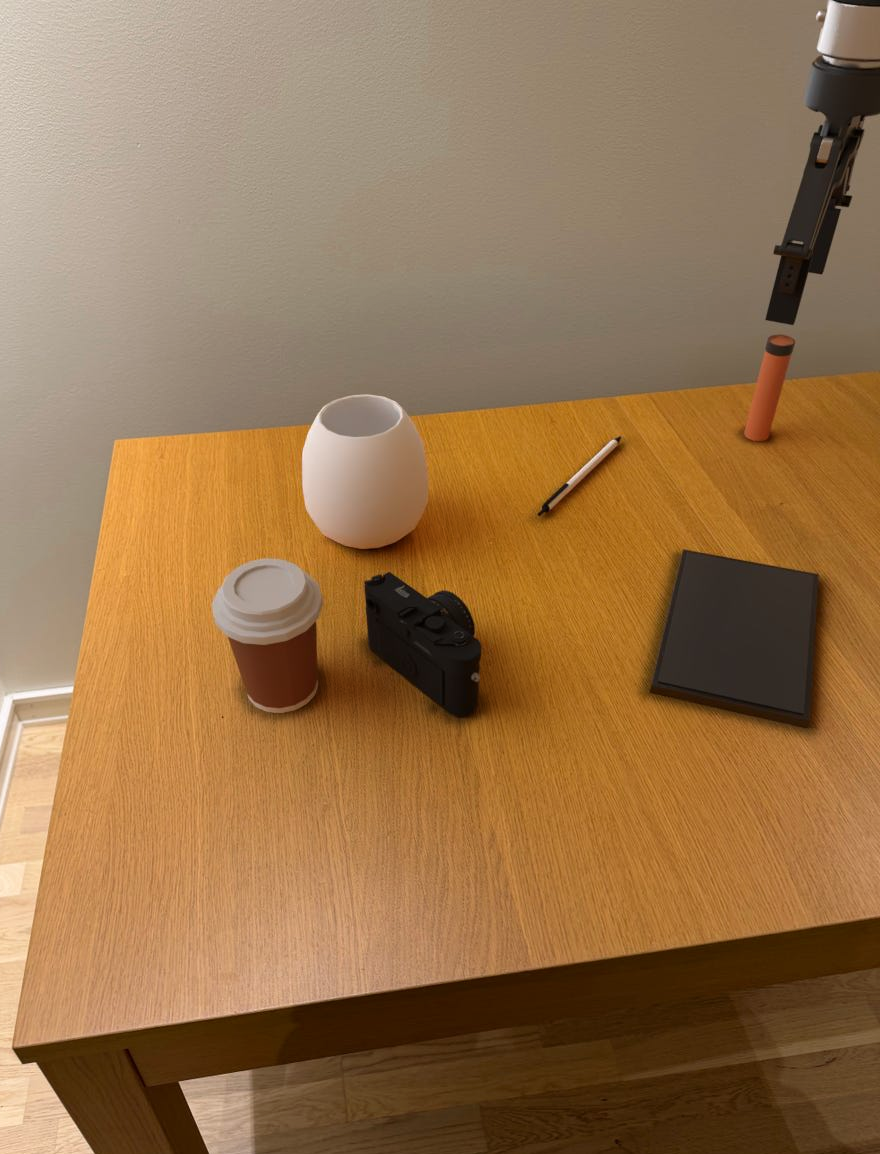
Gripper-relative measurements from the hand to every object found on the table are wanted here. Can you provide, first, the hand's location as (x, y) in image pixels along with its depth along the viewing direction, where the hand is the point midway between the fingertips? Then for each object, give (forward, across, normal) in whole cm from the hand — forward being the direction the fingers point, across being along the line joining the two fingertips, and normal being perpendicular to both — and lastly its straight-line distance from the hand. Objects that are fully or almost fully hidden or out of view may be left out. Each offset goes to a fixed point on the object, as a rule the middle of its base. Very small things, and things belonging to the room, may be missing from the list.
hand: (795, 295), depth 95 cm
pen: (+18, +15, -16) cm, 28 cm away
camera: (+19, +49, -16) cm, 55 cm away
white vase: (+19, +34, -33) cm, 50 cm away
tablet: (+18, +32, +7) cm, 38 cm away
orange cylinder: (+18, -3, -1) cm, 19 cm away
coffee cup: (+19, +58, -27) cm, 66 cm away
